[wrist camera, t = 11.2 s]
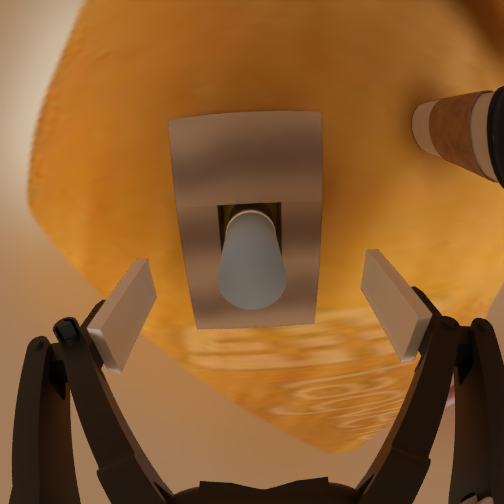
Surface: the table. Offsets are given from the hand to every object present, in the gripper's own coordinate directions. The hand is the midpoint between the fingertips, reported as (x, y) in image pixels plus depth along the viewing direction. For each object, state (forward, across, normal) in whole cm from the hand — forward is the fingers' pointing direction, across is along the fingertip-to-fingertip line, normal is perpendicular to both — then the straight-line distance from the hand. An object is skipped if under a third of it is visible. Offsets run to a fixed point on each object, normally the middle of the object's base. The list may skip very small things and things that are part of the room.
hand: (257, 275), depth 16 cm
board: (+12, -1, 0) cm, 12 cm away
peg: (+12, 0, 0) cm, 12 cm away
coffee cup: (+12, +19, +10) cm, 25 cm away
